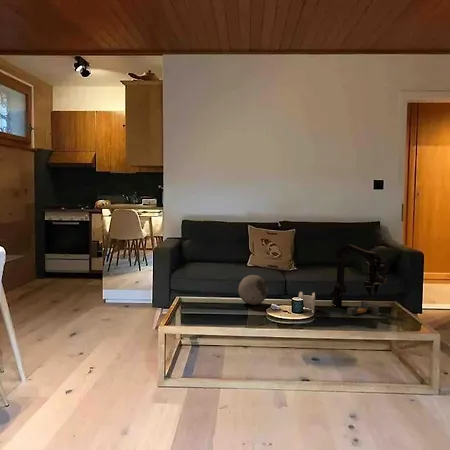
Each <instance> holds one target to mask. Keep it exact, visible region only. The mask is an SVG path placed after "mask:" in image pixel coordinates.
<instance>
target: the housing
mask: <svg viewBox="0 0 450 450" xmlns="http://www.w3.org/2000/svg"><path fill="white" fill-rule="evenodd" d="M360 302H361V303H360V306H358V307H357V309H363V308H366V310H367V311H368V310H369V307H371V309H370V313H371V314H372V315H375V316H376V317H377V316H382V313H381V312H379V308H380V305H379V304H377V303H374V302H370V301H368V300H361V301H360Z"/></svg>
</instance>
